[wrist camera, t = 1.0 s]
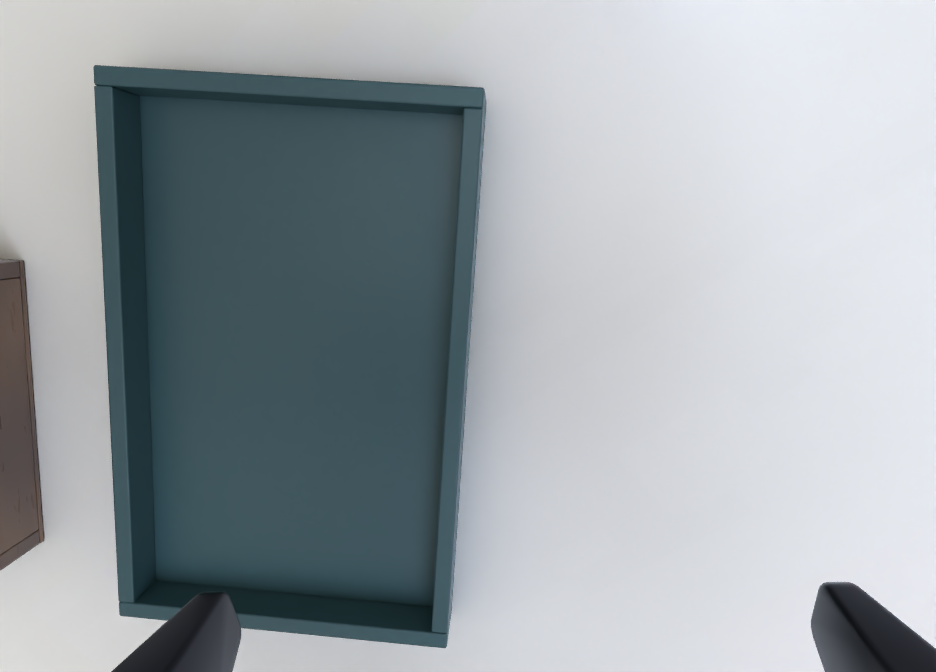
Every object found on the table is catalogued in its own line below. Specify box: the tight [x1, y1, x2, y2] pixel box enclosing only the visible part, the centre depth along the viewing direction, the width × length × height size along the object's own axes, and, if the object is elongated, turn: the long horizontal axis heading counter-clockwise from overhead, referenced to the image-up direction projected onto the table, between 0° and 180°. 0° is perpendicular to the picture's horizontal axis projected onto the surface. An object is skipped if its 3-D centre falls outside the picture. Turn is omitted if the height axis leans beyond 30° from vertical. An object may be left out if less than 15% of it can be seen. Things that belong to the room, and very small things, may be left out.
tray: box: [94, 65, 486, 648], centre depth 21 cm, size 19×12×2 cm, turn 176°
